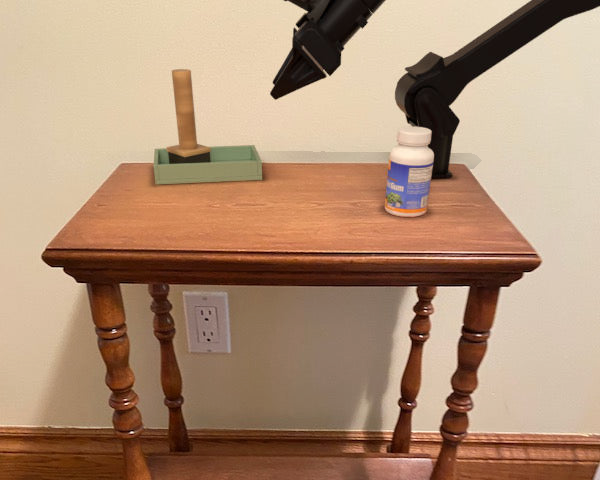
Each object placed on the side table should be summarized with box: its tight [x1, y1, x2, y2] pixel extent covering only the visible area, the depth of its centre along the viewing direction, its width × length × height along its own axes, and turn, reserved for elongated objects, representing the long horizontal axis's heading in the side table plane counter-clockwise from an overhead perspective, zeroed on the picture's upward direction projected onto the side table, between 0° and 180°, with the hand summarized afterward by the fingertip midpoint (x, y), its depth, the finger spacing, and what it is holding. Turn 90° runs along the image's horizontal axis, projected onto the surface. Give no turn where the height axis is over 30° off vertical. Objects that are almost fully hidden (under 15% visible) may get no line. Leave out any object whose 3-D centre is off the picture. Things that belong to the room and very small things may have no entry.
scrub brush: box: [165, 68, 211, 164], centre depth 89 cm, size 5×5×13 cm
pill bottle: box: [384, 126, 434, 218], centre depth 77 cm, size 5×5×10 cm
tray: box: [153, 144, 263, 186], centre depth 93 cm, size 15×10×3 cm, turn 100°
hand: (273, 90), depth 86 cm, fingers open, 9 cm apart
